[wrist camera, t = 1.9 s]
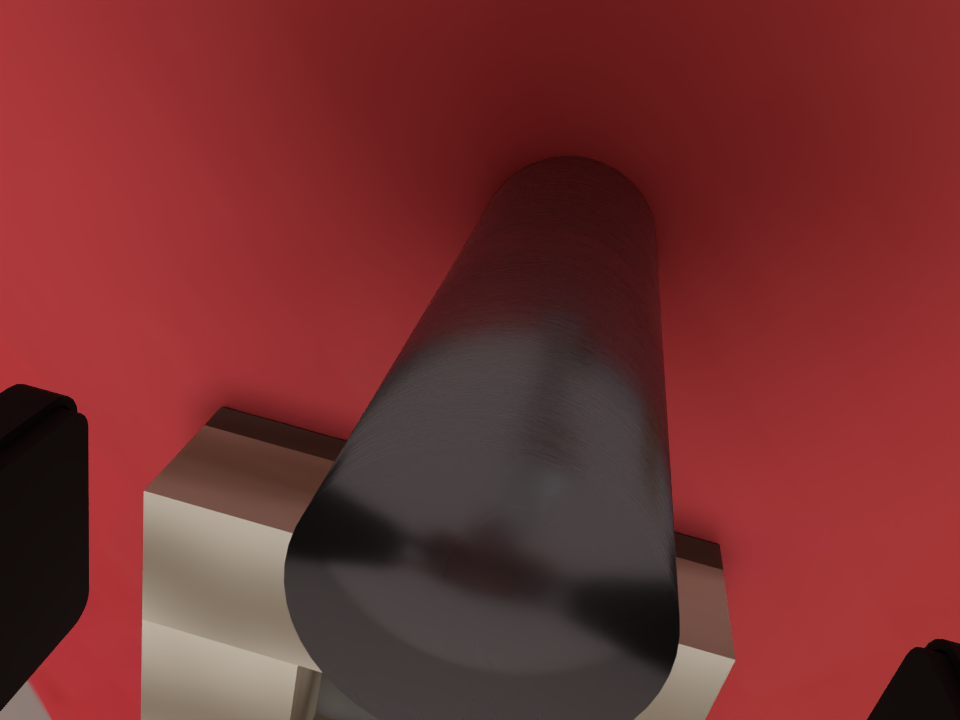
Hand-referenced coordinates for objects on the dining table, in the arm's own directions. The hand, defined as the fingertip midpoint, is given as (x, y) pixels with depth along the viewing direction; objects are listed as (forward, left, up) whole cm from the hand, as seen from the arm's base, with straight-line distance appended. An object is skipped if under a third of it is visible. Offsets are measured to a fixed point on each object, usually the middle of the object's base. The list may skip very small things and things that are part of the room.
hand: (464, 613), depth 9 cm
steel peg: (-1, 0, -11) cm, 11 cm away
